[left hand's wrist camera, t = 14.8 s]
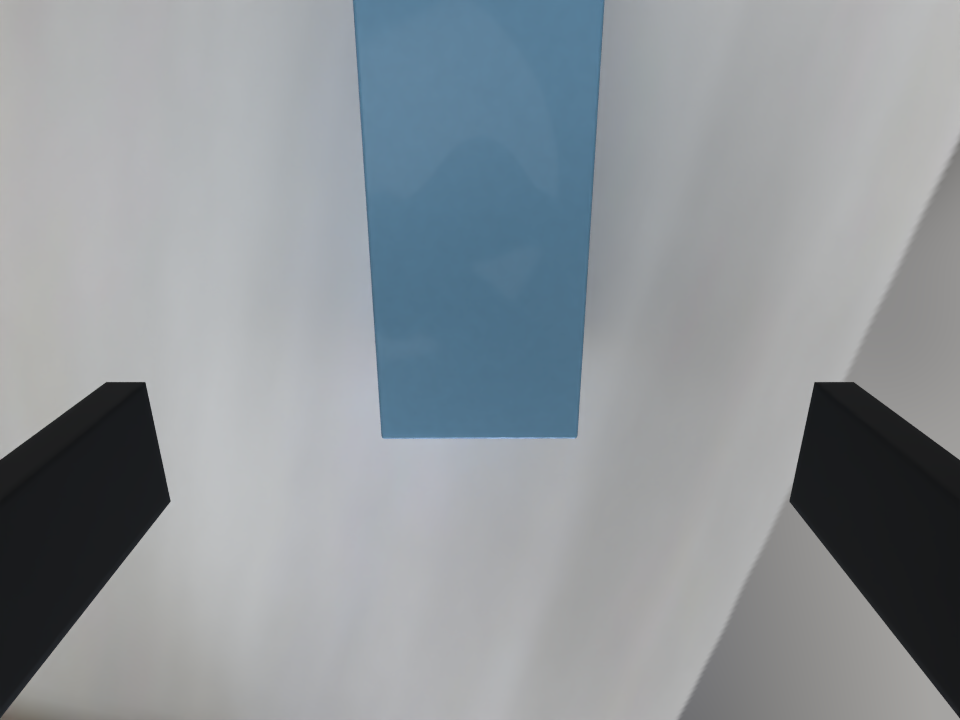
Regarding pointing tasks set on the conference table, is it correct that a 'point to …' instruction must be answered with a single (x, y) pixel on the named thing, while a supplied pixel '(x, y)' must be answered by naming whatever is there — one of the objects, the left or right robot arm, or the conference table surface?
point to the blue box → (479, 209)
